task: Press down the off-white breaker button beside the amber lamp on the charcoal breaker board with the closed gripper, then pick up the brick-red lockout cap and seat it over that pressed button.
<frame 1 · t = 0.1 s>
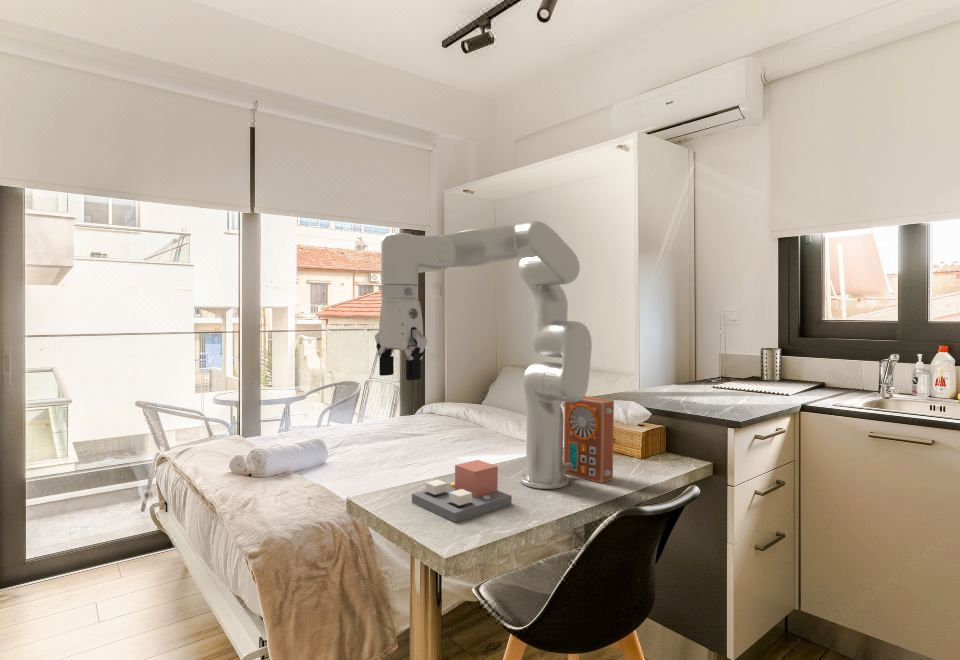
hand: (399, 377, 113), 31 cm above the table, fingers open, 9 cm apart
lockout cap: (476, 490, 130), point 2 cm above the table, touching breaker board
breaker a: (460, 497, 121), point 3 cm above the table, slide at 0.0 cm
breaker b: (436, 487, 128), point 3 cm above the table, slide at 0.0 cm
control panel: (588, 476, 149), on the table
breaker board: (461, 503, 127), on the table
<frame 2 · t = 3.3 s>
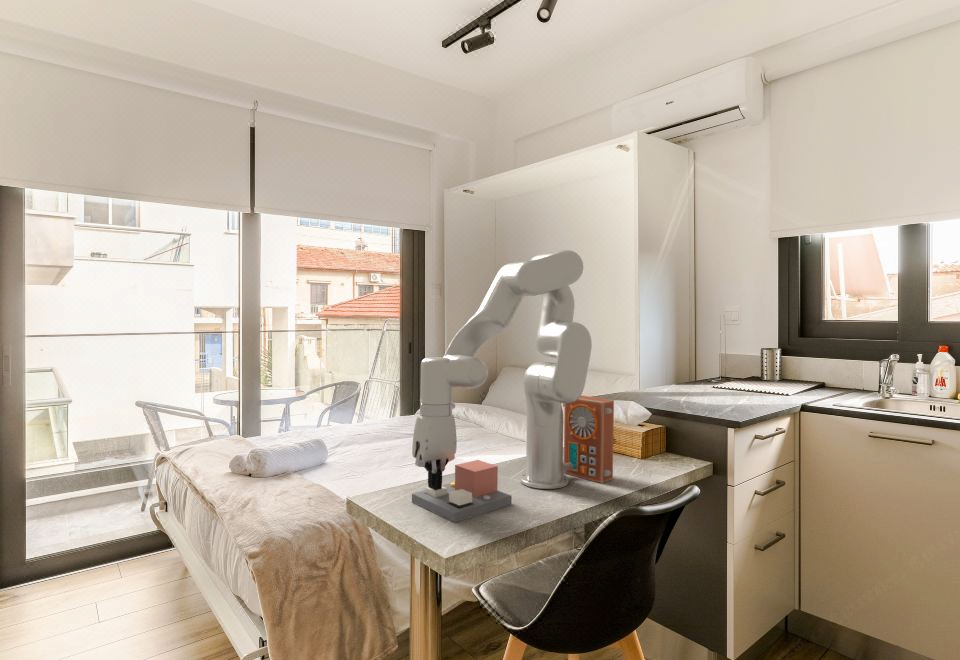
hand: (434, 487, 128), 3 cm above the table, fingers closed
breaker b: (436, 492, 128), point 2 cm above the table, slide at 1.2 cm, touching gripper
everything else where it was.
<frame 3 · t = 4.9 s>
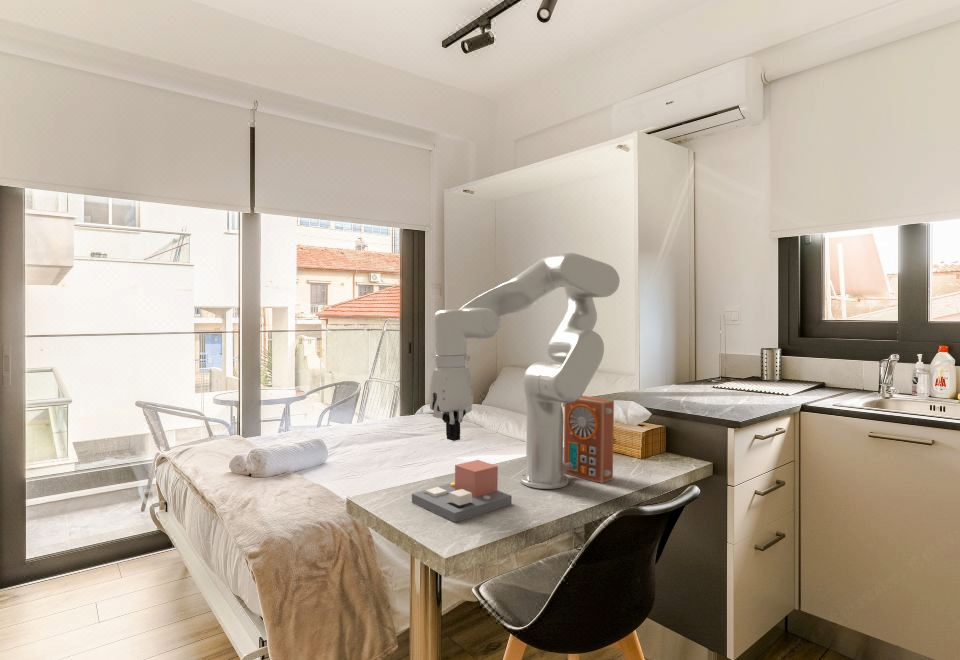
hand: (453, 439, 129), 15 cm above the table, fingers closed
breaker b: (436, 494, 128), point 2 cm above the table, slide at 1.8 cm
everything else where it was.
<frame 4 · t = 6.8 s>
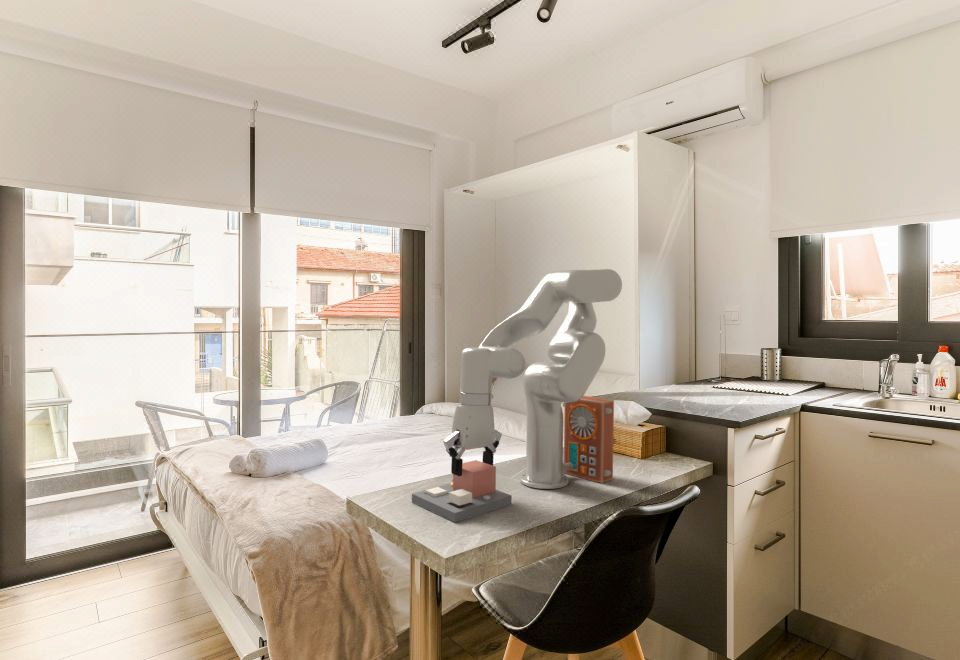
hand: (472, 471, 129), 7 cm above the table, fingers open, 9 cm apart
nothing on the table moved.
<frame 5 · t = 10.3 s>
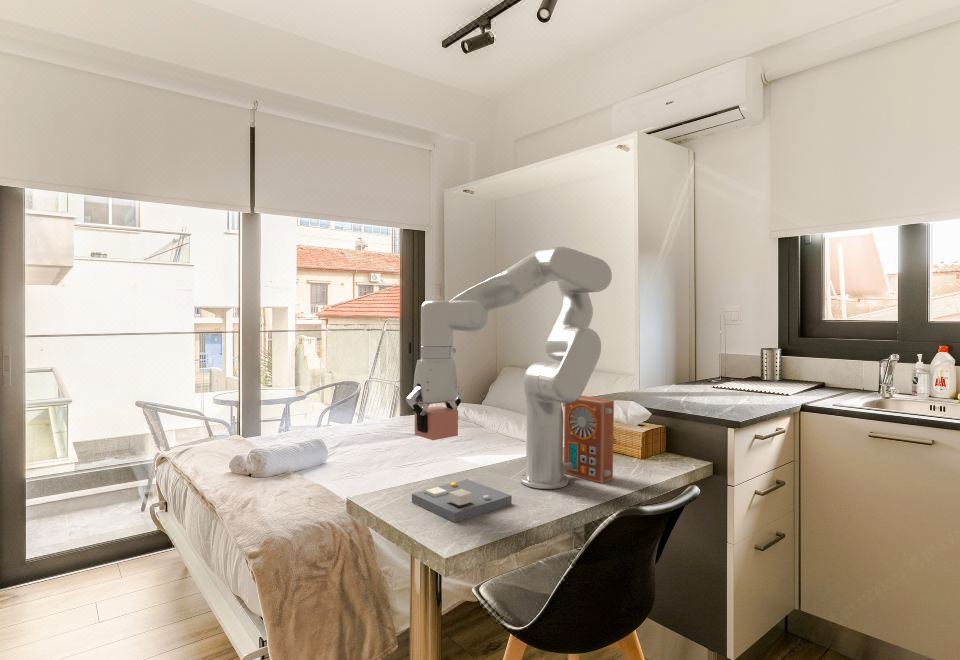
hand: (436, 428, 127), 17 cm above the table, fingers closed on lockout cap, 7 cm apart
lockout cap: (436, 435, 128), point 16 cm above the table, touching gripper
everything else where it was.
when the fingers open (4 cm above the table, at t = 13.1 s): lockout cap stays where it is, resting on breaker board.
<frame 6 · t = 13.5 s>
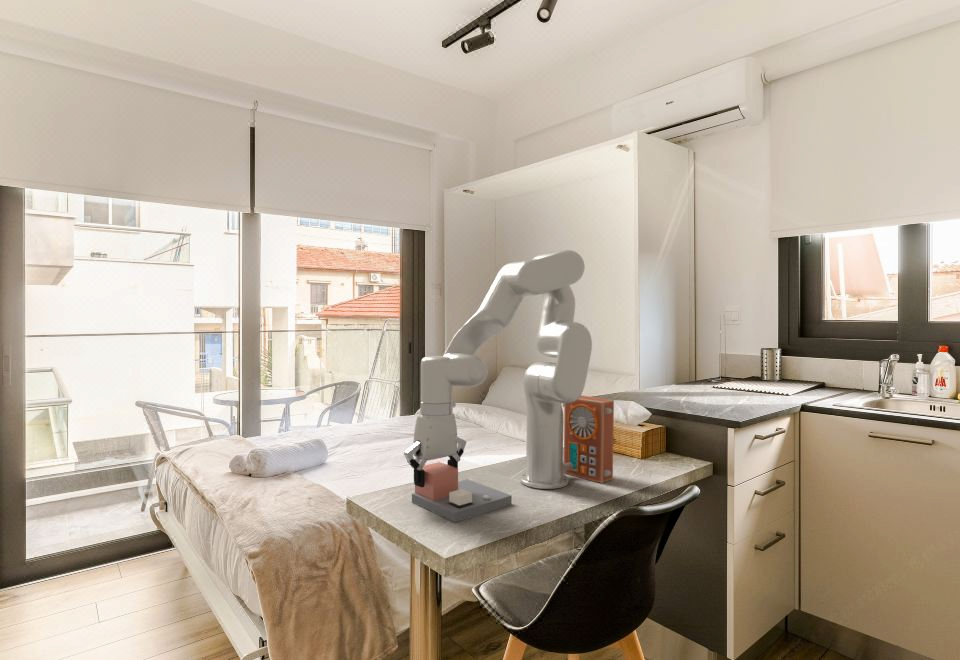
hand: (436, 481, 128), 5 cm above the table, fingers open, 9 cm apart
lockout cap: (436, 493, 128), point 2 cm above the table, touching breaker board
everything else where it was.
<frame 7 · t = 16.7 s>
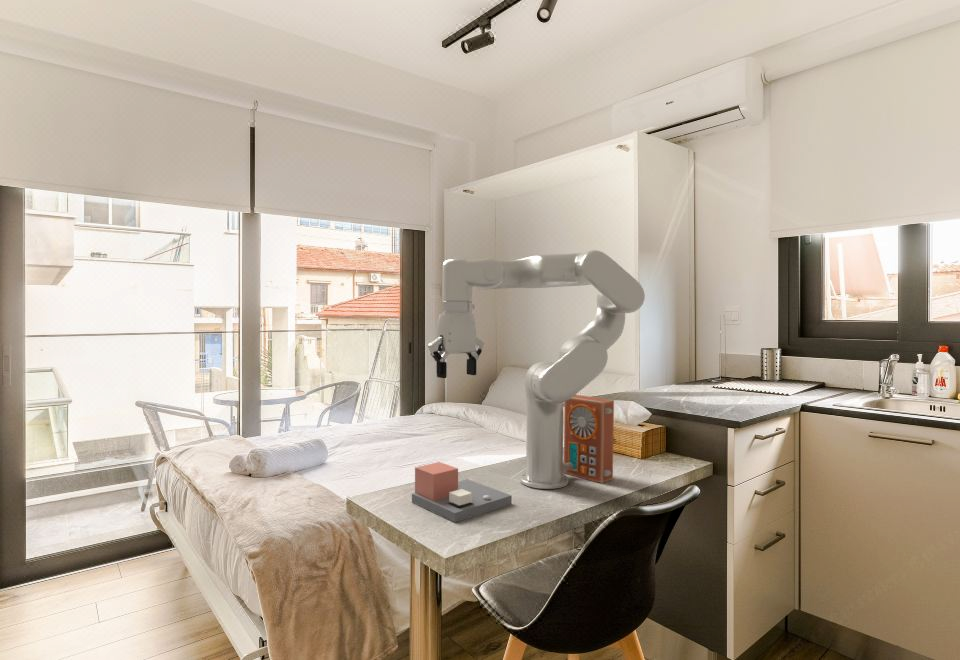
hand: (456, 376, 138), 28 cm above the table, fingers open, 9 cm apart
nothing on the table moved.
at the end: breaker b slide at 1.8 cm; lockout cap 0.1 cm from the breaker b (horizontally); lockout cap point 2.0 cm above the table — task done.
